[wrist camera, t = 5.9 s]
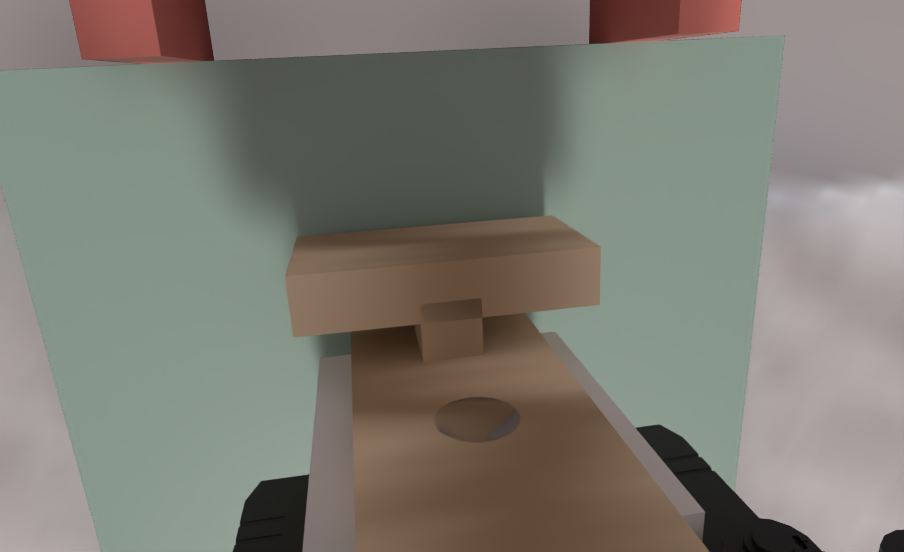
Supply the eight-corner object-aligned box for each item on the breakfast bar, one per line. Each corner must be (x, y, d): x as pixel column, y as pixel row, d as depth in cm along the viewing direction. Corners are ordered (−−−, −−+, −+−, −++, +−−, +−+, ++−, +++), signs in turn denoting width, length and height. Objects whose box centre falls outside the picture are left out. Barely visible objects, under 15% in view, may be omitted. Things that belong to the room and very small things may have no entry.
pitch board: (170, 727, 20) (160, 766, 19) (1, 72, 14) (-31, 71, 12) (697, 628, 22) (716, 657, 21) (754, 38, 16) (785, 35, 15)
